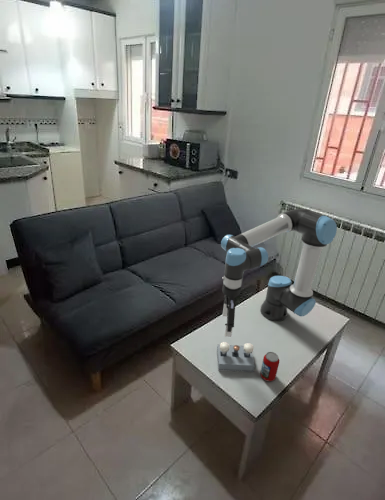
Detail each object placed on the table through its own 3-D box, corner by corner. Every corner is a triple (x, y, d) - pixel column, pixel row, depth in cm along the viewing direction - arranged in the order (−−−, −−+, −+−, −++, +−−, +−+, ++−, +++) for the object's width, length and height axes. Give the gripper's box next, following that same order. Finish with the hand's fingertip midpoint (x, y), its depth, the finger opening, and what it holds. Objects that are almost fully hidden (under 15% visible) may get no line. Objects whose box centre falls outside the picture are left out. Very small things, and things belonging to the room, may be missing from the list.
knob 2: (251, 351, 145) (252, 343, 143) (252, 358, 141) (254, 350, 139) (242, 350, 145) (243, 342, 143) (243, 357, 141) (244, 349, 139)
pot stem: (238, 351, 144) (239, 345, 142) (239, 356, 142) (240, 349, 140) (232, 351, 144) (233, 344, 142) (232, 355, 141) (233, 349, 140)
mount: (249, 352, 150) (250, 346, 148) (253, 371, 140) (254, 365, 138) (216, 350, 150) (217, 344, 148) (218, 370, 139) (219, 363, 138)
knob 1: (228, 349, 145) (229, 342, 143) (228, 357, 141) (230, 349, 139) (218, 349, 145) (219, 341, 142) (219, 356, 141) (220, 348, 139)
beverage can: (258, 370, 141) (262, 350, 135) (272, 369, 141) (277, 350, 136) (262, 382, 135) (266, 362, 129) (277, 382, 135) (282, 362, 130)
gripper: (221, 268, 137) (216, 307, 147) (225, 302, 115) (219, 345, 125) (237, 269, 137) (232, 308, 147) (245, 303, 115) (238, 346, 125)
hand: (226, 325), depth 136 cm, fingers open, 12 cm apart
